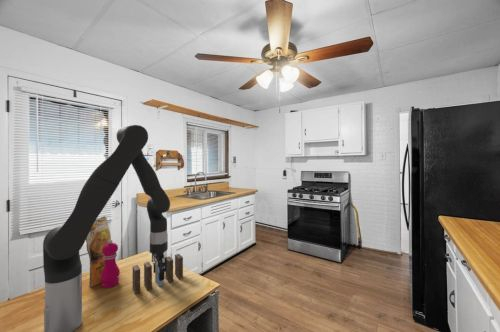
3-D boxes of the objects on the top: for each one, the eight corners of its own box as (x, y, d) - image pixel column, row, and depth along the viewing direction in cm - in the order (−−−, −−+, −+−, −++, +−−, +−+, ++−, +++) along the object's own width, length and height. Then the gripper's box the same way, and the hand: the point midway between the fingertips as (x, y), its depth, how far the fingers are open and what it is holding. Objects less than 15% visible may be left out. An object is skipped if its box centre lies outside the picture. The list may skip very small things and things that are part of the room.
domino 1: (135, 294, 89) (134, 270, 89) (132, 289, 93) (132, 266, 93) (140, 292, 90) (140, 269, 90) (137, 287, 94) (137, 264, 94)
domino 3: (158, 286, 95) (158, 264, 95) (155, 281, 99) (155, 260, 99) (163, 284, 96) (163, 262, 96) (159, 280, 100) (159, 258, 100)
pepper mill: (118, 286, 95) (117, 241, 95) (98, 290, 92) (98, 243, 92) (121, 278, 102) (120, 236, 101) (103, 281, 99) (102, 238, 99)
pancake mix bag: (78, 290, 92) (77, 225, 92) (105, 268, 111) (105, 214, 111) (94, 289, 93) (93, 224, 92) (119, 268, 112) (118, 214, 111)
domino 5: (178, 279, 101) (178, 258, 101) (174, 275, 105) (174, 254, 104) (182, 278, 102) (182, 257, 102) (179, 273, 106) (178, 253, 106)
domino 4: (168, 283, 98) (168, 261, 98) (165, 278, 102) (165, 257, 102) (173, 281, 99) (173, 259, 99) (169, 277, 103) (169, 256, 103)
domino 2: (147, 290, 92) (146, 267, 92) (144, 285, 96) (144, 263, 96) (152, 288, 93) (151, 265, 93) (148, 283, 97) (148, 261, 97)
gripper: (145, 238, 100) (145, 272, 101) (154, 247, 89) (154, 286, 90) (162, 234, 105) (162, 267, 105) (172, 243, 94) (172, 279, 94)
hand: (158, 276), depth 97 cm, fingers open, 8 cm apart
